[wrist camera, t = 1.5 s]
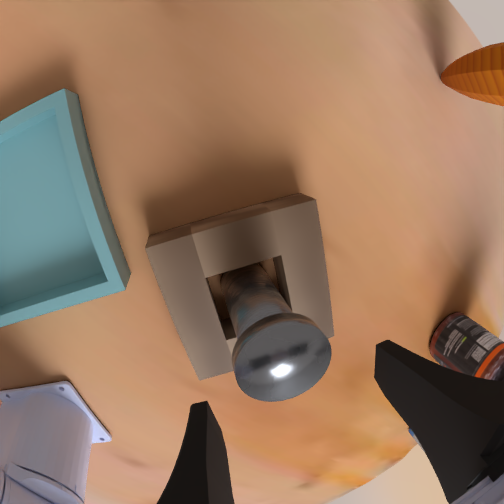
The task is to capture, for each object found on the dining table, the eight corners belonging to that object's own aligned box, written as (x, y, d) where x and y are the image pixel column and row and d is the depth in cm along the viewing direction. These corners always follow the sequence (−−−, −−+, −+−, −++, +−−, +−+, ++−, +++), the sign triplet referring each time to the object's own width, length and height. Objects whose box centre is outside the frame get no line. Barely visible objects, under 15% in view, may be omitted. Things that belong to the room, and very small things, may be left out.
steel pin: (221, 318, 22) (248, 412, 14) (203, 263, 20) (223, 344, 12) (280, 300, 22) (334, 381, 14) (268, 244, 21) (326, 310, 12)
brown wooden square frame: (196, 358, 23) (199, 380, 20) (149, 235, 19) (145, 248, 17) (320, 319, 24) (334, 336, 21) (300, 192, 20) (315, 199, 18)
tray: (1, 314, 18) (-13, 330, 15) (-52, 168, 13) (-71, 172, 11) (130, 273, 19) (125, 289, 17) (77, 94, 15) (64, 88, 13)
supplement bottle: (449, 353, 31) (509, 407, 20) (419, 358, 29) (483, 422, 19) (470, 310, 29) (538, 359, 19) (441, 309, 27) (518, 367, 17)
